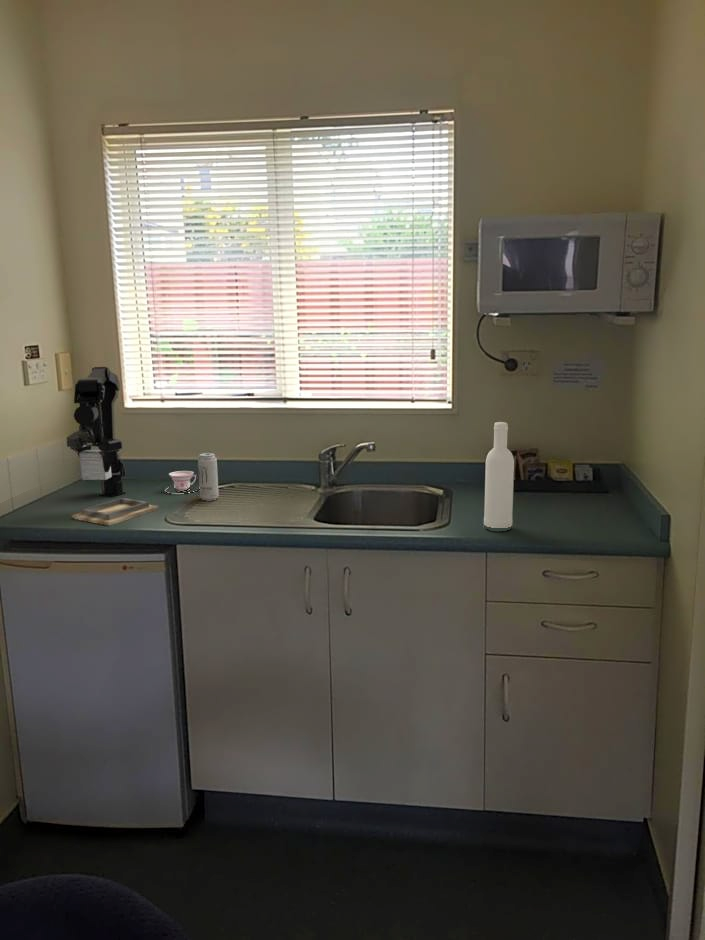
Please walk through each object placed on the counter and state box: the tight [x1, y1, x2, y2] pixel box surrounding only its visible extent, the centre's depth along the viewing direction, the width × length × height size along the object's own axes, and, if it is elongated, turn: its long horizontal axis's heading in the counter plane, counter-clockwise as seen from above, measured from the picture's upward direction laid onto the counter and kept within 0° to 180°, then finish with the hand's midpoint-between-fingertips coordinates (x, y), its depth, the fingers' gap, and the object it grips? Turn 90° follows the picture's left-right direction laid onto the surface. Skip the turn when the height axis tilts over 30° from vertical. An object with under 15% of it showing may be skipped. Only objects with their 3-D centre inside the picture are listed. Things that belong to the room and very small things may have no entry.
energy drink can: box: [197, 452, 220, 502], centre depth 249 cm, size 6×6×15 cm
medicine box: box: [79, 449, 112, 481], centre depth 236 cm, size 8×4×9 cm, turn 82°
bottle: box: [483, 421, 515, 528], centre depth 212 cm, size 8×8×30 cm
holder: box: [71, 497, 160, 526], centre depth 235 cm, size 16×20×2 cm
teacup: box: [164, 470, 197, 495], centre depth 263 cm, size 12×12×6 cm
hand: (96, 470), depth 236 cm, fingers closed on medicine box, 9 cm apart
